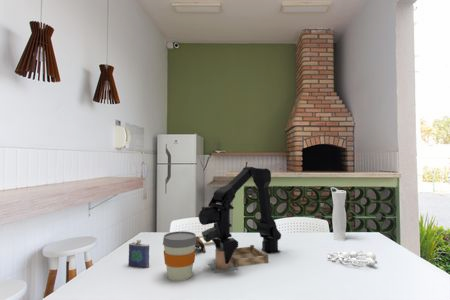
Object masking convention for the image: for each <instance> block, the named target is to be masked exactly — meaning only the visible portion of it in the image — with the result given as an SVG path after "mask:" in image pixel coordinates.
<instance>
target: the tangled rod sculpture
mask: <svg viewBox="0 0 450 300" xmlns="http://www.w3.org/2000/svg"><path fill="white" fill-rule="evenodd" d="M362 256H365V259H363V260H359V259H357V258H358V257H362ZM376 257H377V256H376V254H375V252H372V251H368V252H366V253H364V251H363V250H362V249H361V250H358V251H350V252H349V253H348V252H347V251H343V252H341V251H337V252H336V251H334V252H332V251H331V252H328V253H326V260H327V261H331V262H333V263H336V262H340V263H342V264H344V265H346V266H357V267H363V266H367V267H372V266H375V265H376V261H375V260H376ZM348 262H350V263H348ZM360 263H362V264H360Z"/></svg>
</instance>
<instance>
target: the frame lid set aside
mask: <svg viewBox="0 0 450 300" xmlns="http://www.w3.org/2000/svg"><path fill="white" fill-rule="evenodd" d="M196 237H199V238H200V240H201V241H202V242H203V244H204V246H205V247H208V246H214V245H215V243H214V242H213V241H212V240H210V241H209V242H206V241H205V240H204V238H203V236H202V235H196Z"/></svg>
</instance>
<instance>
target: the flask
mask: <svg viewBox="0 0 450 300" xmlns="http://www.w3.org/2000/svg"><path fill="white" fill-rule="evenodd" d="M128 267H131V268H138V269H139V268H140V269H141V268H142V269H147V268H149V267H150V244H148V243H142V240H141V239H137V240H136V242H135V241H134V242H130V243H129V244H128Z"/></svg>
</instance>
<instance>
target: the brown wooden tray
mask: <svg viewBox="0 0 450 300" xmlns="http://www.w3.org/2000/svg"><path fill="white" fill-rule="evenodd" d="M230 262H231V263H232V264H234V266H235V267H237V268H239V267H246V266H252V265H260V264H268V263H269V254H268V253H263V252H262V251H261V250H259V249H257V248H256V247H255V245H254V244H250V245H249V246H243V247H238V248H237V249H235V251H234V253H233V255H232V257H231V259H230Z"/></svg>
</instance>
